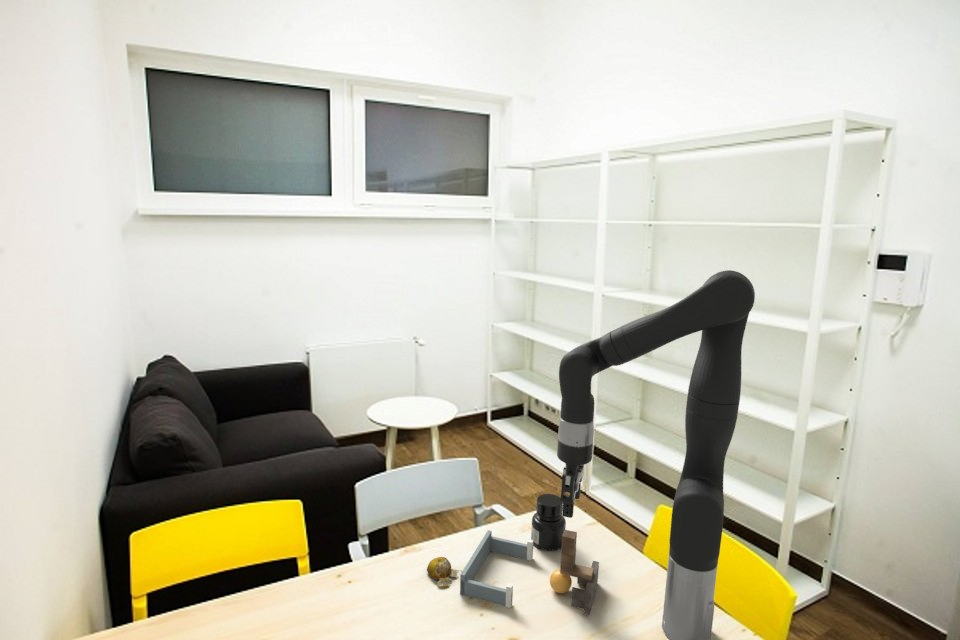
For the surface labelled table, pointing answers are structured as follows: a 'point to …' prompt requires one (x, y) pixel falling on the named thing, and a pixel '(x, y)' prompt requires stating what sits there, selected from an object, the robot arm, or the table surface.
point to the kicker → (578, 573)
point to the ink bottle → (548, 523)
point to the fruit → (441, 571)
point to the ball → (560, 582)
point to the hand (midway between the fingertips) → (571, 506)
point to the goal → (477, 559)
